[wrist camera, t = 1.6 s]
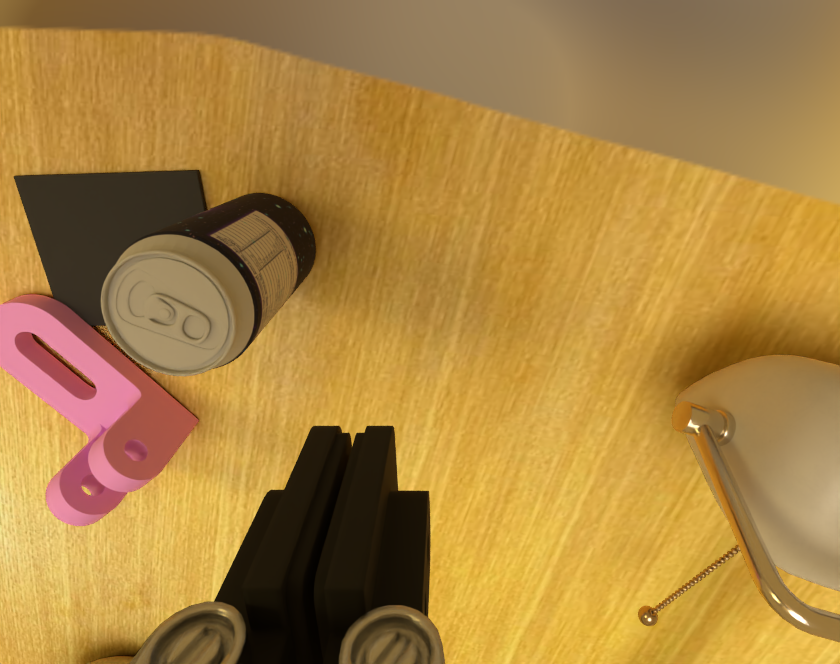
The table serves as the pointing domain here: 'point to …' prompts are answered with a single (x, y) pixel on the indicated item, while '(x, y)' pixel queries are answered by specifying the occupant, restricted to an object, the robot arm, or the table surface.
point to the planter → (113, 660)
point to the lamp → (771, 475)
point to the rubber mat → (100, 224)
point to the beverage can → (207, 284)
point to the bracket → (91, 406)
